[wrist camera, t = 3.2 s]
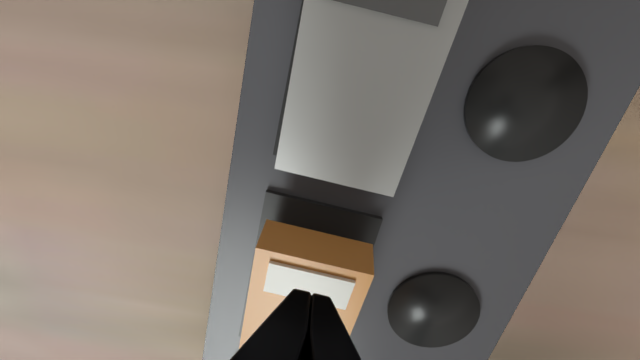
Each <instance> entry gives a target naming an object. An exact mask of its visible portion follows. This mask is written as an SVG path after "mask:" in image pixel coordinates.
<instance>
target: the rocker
mask: <svg viewBox="0 0 640 360" xmlns="http://www.w3.org/2000/svg"><path fill="white" fill-rule="evenodd" d="M468 1H469V0H304V2H303V8H302V14H301V20H300V25H299V31H298V37H297V42H296V48H295V54H294V60H293V65H292V71H291V77H290V82H289V88H288V94H287V100H286V105H285V111H284V117H283V122H282V128H281V134H280V140H279V145H278V151H277V157H276V162H275V168H274V169H278V170H282V171H286V172H290V173H294V174H299V175H303V176H307V177H311V178H315V179H319V180H324V181H328V182H332V183H336V184H340V185H344V186H349V187H353V188H357V189H361V190H365V191H369V192H374V193H378V194H382V195H386V196H390V197H394V194H395V191H396V189H397V186H398V184H399V181H400V178H401V176H402V173H403V171H404V168H405V165H406V163H407V160H408V158H409V155H410V152H411V150H412V147H413V145H414V142H415V139H416V137H417V134H418V132H419V129H420V126H421V124H422V121H423V119H424V116H425V113H426V111H427V108H428V106H429V103H430V100H431V98H432V95H433V93H434V90H435V87H436V85H437V82H438V80H439V77H440V74H441V72H442V69H443V66H444V64H445V61H446V59H447V56H448V53H449V51H450V48H451V46H452V43H453V40H454V38H455V35H456V33H457V30H458V27H459V25H460V22H461V20H462V17H463V14H464V12H465V9H466V7H467V4H468Z"/></svg>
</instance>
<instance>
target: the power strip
mask: <svg viewBox="0 0 640 360" xmlns="http://www.w3.org/2000/svg"><path fill="white" fill-rule="evenodd" d="M303 2H304V0H254V6H253V13H252V20H251V27H250V34H249V41H248V48H247V54H246V61H245V68H244V75H243V82H242V89H241V96H240V103H239V110H238V117H237V124H236V131H235V138H234V145H233V151H232V158H231V165H230V172H229V179H228V186H227V193H226V200H225V207H224V214H223V221H222V228H221V235H220V242H219V248H218V255H217V262H216V269H215V276H214V283H213V290H212V297H211V304H210V311H209V318H208V325H207V332H206V339H205V346H204V352H203V359H202V360H230V359H231V358H232V356H233V355H234V354H235V353H236V352H237V351H238V350H239V344H240V338H241V332H242V326H243V320H244V314H245V308H246V302H247V296H248V290H249V284H250V278H251V272H252V266H253V260H254V254H255V248H256V245H257V243H258V240H259V237H260V235H261V232H262V230H263V227H264V225H265V222H266V219H268V220H272V221H276V222H281V223H285V224H289V225H293V226H298V227H302V228H306V229H310V230H314V231H319V232H323V233H327V234H331V235H336V236H340V237H344V238H348V239H353V240H357V241H361V242H365V243H369V244H373V257H374V278H373V280H372V283H371V285H370V288H369V290H368V292H367V295H366V297H365V300H364V302H363V305H362V307H361V310H360V312H359V315H358V317H357V320H356V322H355V325H354V327H353V329H352V332H351V334H350V338H351V340H352V342H353V344H354V346H355V348H356V350H357V352H358V354H359V356H360V358H361V360H488V358H489V356H490V355H491V353H492V351H493V349H494V347H495V346H496V344H497V342H498V340H499V338H500V337H501V335H502V333H503V331H504V329H505V328H506V326H507V324H508V322H509V320H510V319H511V317H512V315H513V313H514V311H515V310H516V308H517V306H518V304H519V302H520V301H521V299H522V297H523V295H524V293H525V292H526V290H527V288H528V286H529V284H530V283H531V281H532V279H533V277H534V275H535V274H536V272H537V270H538V268H539V266H540V265H541V263H542V261H543V259H544V257H545V256H546V254H547V252H548V250H549V248H550V247H551V245H552V243H553V241H554V239H555V238H556V236H557V234H558V232H559V230H560V229H561V227H562V225H563V223H564V221H565V220H566V218H567V216H568V214H569V212H570V211H571V209H572V207H573V205H574V203H575V202H576V200H577V198H578V196H579V194H580V192H581V191H582V189H583V187H584V185H585V183H586V182H587V180H588V178H589V176H590V174H591V173H592V171H593V169H594V167H595V165H596V164H597V162H598V160H599V158H600V156H601V155H602V153H603V151H604V149H605V147H606V146H607V144H608V142H609V140H610V138H611V137H612V135H613V133H614V131H615V129H616V128H617V126H618V124H619V122H620V120H621V119H622V117H623V115H624V113H625V111H626V110H627V108H628V106H629V104H630V102H631V101H632V99H633V97H634V95H635V93H636V92H637V90H638V88H639V86H640V0H469V1H468V4H467V7H466V9H465V12H464V14H463V17H462V20H461V22H460V25H459V27H458V30H457V33H456V35H455V38H454V40H453V43H452V46H451V48H450V51H449V53H448V56H447V59H446V61H445V64H444V66H443V69H442V72H441V74H440V77H439V80H438V82H437V85H436V87H435V90H434V93H433V95H432V98H431V100H430V103H429V106H428V108H427V111H426V113H425V116H424V119H423V121H422V124H421V126H420V129H419V132H418V134H417V137H416V139H415V142H414V145H413V147H412V150H411V152H410V155H409V158H408V160H407V163H406V165H405V168H404V171H403V173H402V176H401V178H400V181H399V184H398V186H397V189H396V191H395V194H394V197H390V196H386V195H382V194H378V193H374V192H369V191H365V190H361V189H357V188H353V187H349V186H344V185H340V184H336V183H332V182H328V181H324V180H319V179H315V178H311V177H307V176H303V175H299V174H294V173H290V172H286V171H282V170H278V169H274V168H275V162H276V157H277V151H278V145H279V140H280V134H281V128H282V122H283V117H284V111H285V105H286V100H287V94H288V88H289V82H290V77H291V71H292V65H293V60H294V54H295V48H296V42H297V37H298V31H299V25H300V20H301V14H302V8H303Z"/></svg>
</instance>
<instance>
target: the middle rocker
mask: <svg viewBox="0 0 640 360" xmlns="http://www.w3.org/2000/svg"><path fill="white" fill-rule="evenodd" d="M373 278H374V257H373V244H369V243H365V242H361V241H357V240H353V239H348V238H344V237H340V236H336V235H331V234H327V233H323V232H319V231H314V230H310V229H306V228H302V227H298V226H293V225H289V224H285V223H281V222H276V221H272V220H268V219H266V222H265V225H264V227H263V230H262V232H261V235H260V237H259V240H258V243H257V245H256V248H255V254H254V260H253V266H252V272H251V278H250V284H249V290H248V296H247V302H246V308H245V314H244V320H243V326H242V332H241V338H240V344H239V349H240V347H241V346H242V345H243V344H244V343H245V342H246V341H247V340H248V339H249V337H250V336H251V335H252V334H253V333H254V332H255V331H256V330H257V329H258V327H259V326H260V325H261V324H262V323H263V322H264V321H265V320H266V319H267V317H268V316H269V315H270V314H271V313H272V312H273V311H274V310H275V309H276V307H277V306H278V305H279V304H280V303H281V302H282V301H283V300H284V299H285V297H286V296H287V295H288V294H289V293H290V292H291V291H292V290H293V289H300V290H304V291H308V292H310V293H311V295H312V294H313V293H317V294H321V295H326V296H329V297H330V298H331V299H332V301H333V303H334V305H335V307H336V309H337V311H338V313H339V315H340V317H341V319H342V321H343V323H344V325H345V327H346V330H347V332H348V334H349V336H350V334H351V332H352V329H353V327H354V325H355V322H356V320H357V317H358V315H359V312H360V310H361V307H362V305H363V302H364V300H365V297H366V295H367V292H368V290H369V288H370V285H371V283H372V280H373Z"/></svg>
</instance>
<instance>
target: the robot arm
mask: <svg viewBox="0 0 640 360" xmlns="http://www.w3.org/2000/svg"><path fill="white" fill-rule="evenodd" d="M230 360H361V358H360V356H359V354H358V352H357V350H356V348H355V346H354V344H353V342H352V340H351V338H350V336H349V334H348V332H347V330H346V327H345V325H344V323H343V321H342V319H341V317H340V315H339V313H338V311H337V309H336V307H335V305H334V303H333V301H332V299H331V298H330V297H329V296H326V295H321V294H317V293H313V294H312V295H311V293H310V292H308V291H304V290H300V289H293V290H292V291H291V292H290V293H289V294H288V295H287V296H286V297H285V299H284V300H283V301H282V302H281V303H280V304H279V305H278V306H277V307H276V309H275V310H274V311H273V312H272V313H271V314H270V315H269V316H268V317H267V319H266V320H265V321H264V322H263V323H262V324H261V325H260V326H259V327H258V329H257V330H256V331H255V332H254V333H253V334H252V335H251V336H250V337H249V339H248V340H247V341H246V342H245V343H244V344H243V345H242V346H241V347H240V349H239V350H238V351H237V352H236V353H235V354H234V355H233V356H232V358H231V359H230Z"/></svg>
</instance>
